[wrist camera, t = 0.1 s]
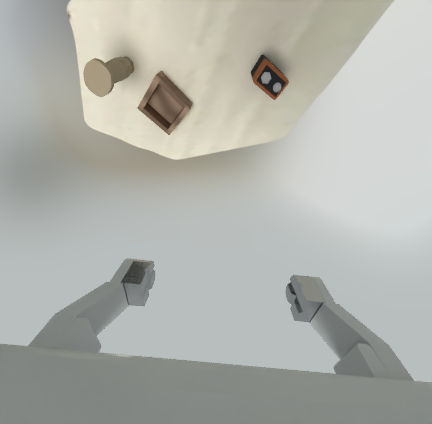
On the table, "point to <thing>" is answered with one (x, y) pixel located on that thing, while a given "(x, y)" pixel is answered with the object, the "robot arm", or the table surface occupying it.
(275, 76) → the battery
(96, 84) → the handle
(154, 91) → the brown square open box
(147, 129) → the table surface
